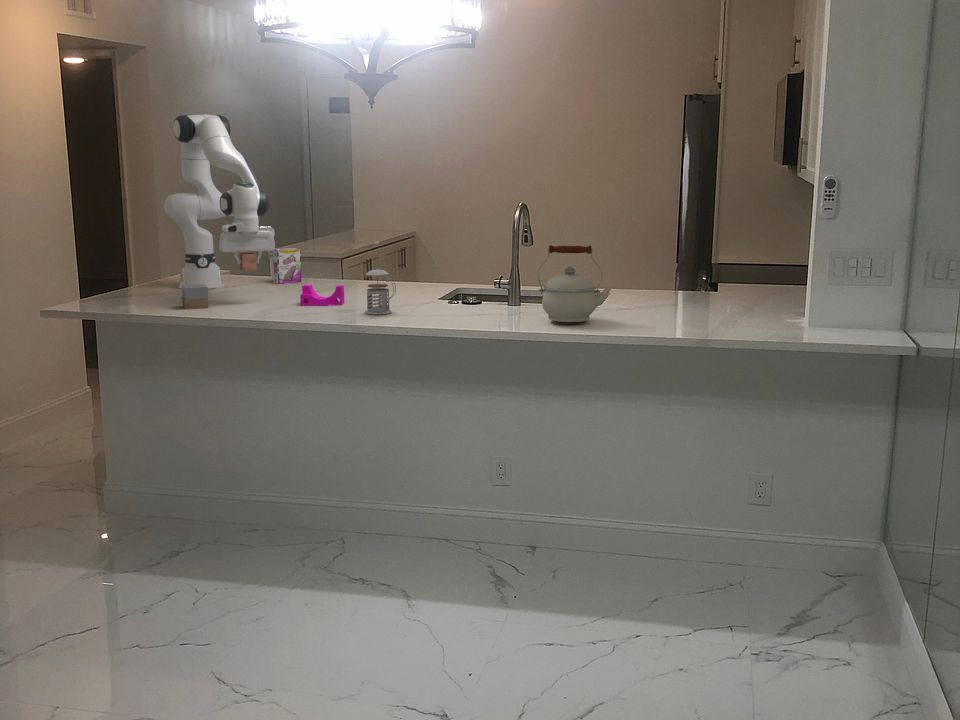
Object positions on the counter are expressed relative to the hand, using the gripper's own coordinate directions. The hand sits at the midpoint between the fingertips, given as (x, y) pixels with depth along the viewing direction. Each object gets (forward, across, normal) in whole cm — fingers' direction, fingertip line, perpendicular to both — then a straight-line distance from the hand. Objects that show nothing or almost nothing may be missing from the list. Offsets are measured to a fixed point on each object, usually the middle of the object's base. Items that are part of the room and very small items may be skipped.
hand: (248, 263), depth 352 cm
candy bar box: (+16, -25, -41) cm, 51 cm away
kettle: (+13, -91, +85) cm, 125 cm away
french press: (+14, -37, +43) cm, 58 cm away
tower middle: (+11, +20, +2) cm, 23 cm away
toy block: (+15, -23, +17) cm, 33 cm away
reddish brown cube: (+2, 0, 0) cm, 2 cm away
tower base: (+15, +20, +2) cm, 25 cm away
